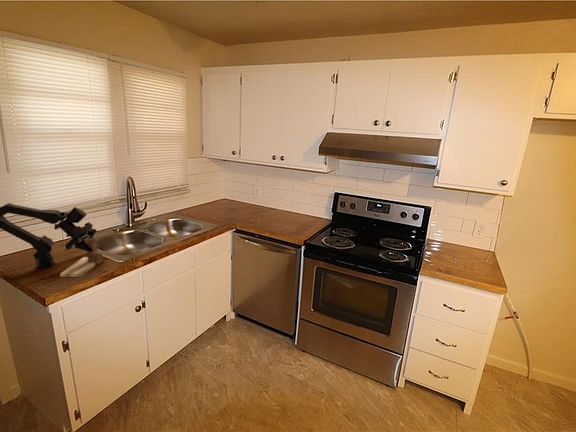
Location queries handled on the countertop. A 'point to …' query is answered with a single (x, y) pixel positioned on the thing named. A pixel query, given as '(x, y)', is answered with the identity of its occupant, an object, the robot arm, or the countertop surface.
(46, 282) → the countertop surface
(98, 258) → the marking gauge
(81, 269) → the birch board
